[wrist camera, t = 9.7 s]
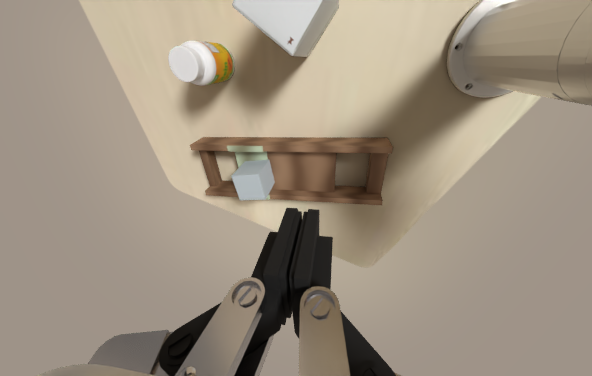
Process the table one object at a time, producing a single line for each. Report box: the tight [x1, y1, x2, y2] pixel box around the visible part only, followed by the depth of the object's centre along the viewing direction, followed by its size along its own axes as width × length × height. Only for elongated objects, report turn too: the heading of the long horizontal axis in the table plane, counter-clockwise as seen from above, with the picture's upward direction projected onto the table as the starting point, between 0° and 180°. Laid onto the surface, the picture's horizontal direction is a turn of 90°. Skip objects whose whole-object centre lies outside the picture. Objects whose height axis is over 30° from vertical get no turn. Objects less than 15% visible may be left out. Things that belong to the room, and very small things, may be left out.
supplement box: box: [232, 0, 339, 57], centre depth 24 cm, size 7×7×13 cm
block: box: [231, 159, 275, 200], centre depth 39 cm, size 5×5×6 cm
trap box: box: [190, 137, 393, 205], centre depth 40 cm, size 35×11×5 cm, turn 93°
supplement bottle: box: [168, 41, 235, 86], centre depth 30 cm, size 5×5×10 cm
